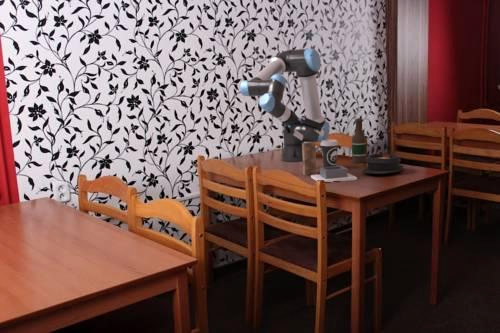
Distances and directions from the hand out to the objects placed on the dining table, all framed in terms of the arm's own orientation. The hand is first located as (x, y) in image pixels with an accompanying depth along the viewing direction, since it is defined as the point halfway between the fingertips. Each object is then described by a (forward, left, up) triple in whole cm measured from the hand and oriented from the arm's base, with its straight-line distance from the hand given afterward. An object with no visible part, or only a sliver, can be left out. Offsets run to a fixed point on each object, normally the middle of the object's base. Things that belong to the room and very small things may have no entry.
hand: (312, 135), depth 273 cm
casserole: (-18, +29, -20) cm, 40 cm away
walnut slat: (+3, -1, -19) cm, 20 cm away
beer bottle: (-35, +6, -19) cm, 41 cm away
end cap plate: (+6, +15, -19) cm, 25 cm away
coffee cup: (-13, +1, -19) cm, 24 cm away
